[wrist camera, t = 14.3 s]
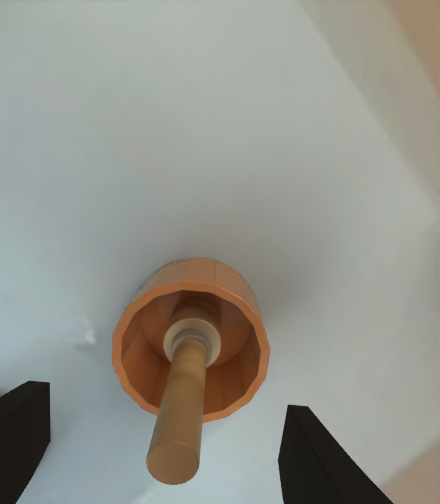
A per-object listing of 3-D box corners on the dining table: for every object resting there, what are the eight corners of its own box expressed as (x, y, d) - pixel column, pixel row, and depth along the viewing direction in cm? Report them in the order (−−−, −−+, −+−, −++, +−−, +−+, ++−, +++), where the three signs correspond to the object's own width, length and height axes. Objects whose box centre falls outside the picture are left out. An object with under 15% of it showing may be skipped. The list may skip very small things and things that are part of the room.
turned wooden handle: (173, 343, 20) (127, 505, 10) (170, 297, 19) (117, 422, 9) (221, 342, 20) (223, 503, 10) (220, 296, 19) (221, 420, 9)
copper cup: (159, 382, 21) (142, 438, 16) (119, 276, 19) (88, 306, 15) (271, 353, 20) (285, 402, 16) (239, 242, 19) (245, 262, 14)
